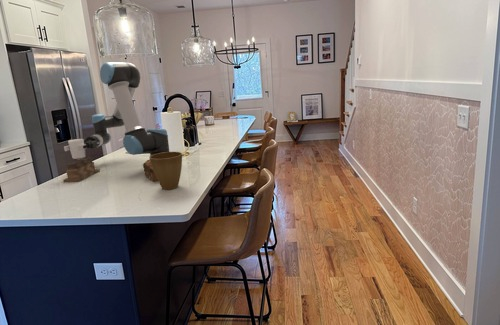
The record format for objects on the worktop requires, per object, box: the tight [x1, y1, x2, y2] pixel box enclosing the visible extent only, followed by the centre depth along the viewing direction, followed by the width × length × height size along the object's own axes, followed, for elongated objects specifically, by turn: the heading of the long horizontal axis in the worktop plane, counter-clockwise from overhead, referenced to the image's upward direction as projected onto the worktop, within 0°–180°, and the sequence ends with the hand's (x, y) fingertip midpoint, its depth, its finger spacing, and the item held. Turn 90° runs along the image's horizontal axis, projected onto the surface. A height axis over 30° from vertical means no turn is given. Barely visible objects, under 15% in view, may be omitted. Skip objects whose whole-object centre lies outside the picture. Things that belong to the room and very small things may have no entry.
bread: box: [142, 159, 158, 183], centre depth 178 cm, size 19×11×10 cm, turn 30°
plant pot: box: [149, 151, 183, 191], centre depth 156 cm, size 15×15×16 cm
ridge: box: [62, 156, 100, 183], centre depth 191 cm, size 22×9×10 cm, turn 176°
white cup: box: [67, 138, 86, 160], centre depth 188 cm, size 8×8×10 cm
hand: (72, 148), depth 183 cm, fingers closed on white cup, 7 cm apart
